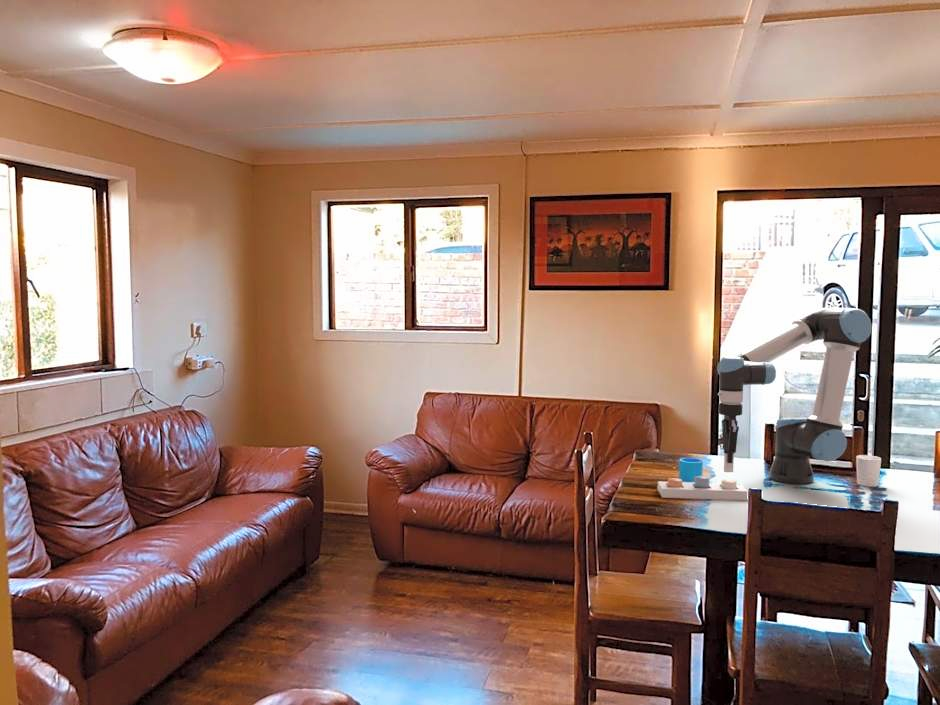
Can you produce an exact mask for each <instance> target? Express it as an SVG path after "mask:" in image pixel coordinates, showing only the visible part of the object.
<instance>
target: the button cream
mask: <svg viewBox="0 0 940 705" xmlns="http://www.w3.org/2000/svg"><path fill="white" fill-rule="evenodd" d="M721 483H722V484H721V488H722V489H736V484H738V482H737V480H734V479H722V480H721Z"/></svg>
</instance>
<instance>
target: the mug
mask: <svg viewBox="0 0 940 705" xmlns="http://www.w3.org/2000/svg"><path fill="white" fill-rule="evenodd" d="M678 461H679V462H678V478H679V479H682V482H695V476H703V466H704V465H703V463H704V461H703V460H702V459H700V458H696V457H695V458H694V457H681V458H679V460H678Z"/></svg>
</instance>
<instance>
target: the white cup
mask: <svg viewBox="0 0 940 705" xmlns="http://www.w3.org/2000/svg"><path fill="white" fill-rule="evenodd" d="M855 461H856V484H857V485H859V486H862V487H872V488H873V487H874V488H876V487H878V486H879V481H880V480H879V479H880V474H881V473H880V472H881V467H882V466H881V464H882V457H880V456H876V455H870V454H869V455H868V454H859V455H856V459H855Z"/></svg>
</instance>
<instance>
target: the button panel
mask: <svg viewBox="0 0 940 705" xmlns="http://www.w3.org/2000/svg"><path fill="white" fill-rule="evenodd" d="M694 483H695V482H682V488H676V487H668V481H664V480H663V481H662V480H661V481H657V492H658V493H659V495H660V496H661V498H662V499H663V498H664V499H665V498H666V499H694V500H696V499H697V500H700V499H701V500H731V501H739V500H740V501H748V500H747V491H748V490H747V489H746V487H744V486H743V485H742V484H741V483H736V489H722V488H721V484H722V482H709V488H695V487H694Z"/></svg>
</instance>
